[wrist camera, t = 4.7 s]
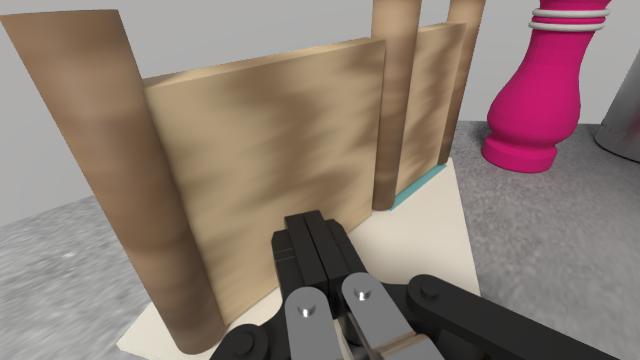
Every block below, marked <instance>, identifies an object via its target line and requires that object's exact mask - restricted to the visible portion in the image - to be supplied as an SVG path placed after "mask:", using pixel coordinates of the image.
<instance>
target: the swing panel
mask: <svg viewBox="0 0 640 360" xmlns="http://www.w3.org/2000/svg"><path fill="white" fill-rule="evenodd" d="M0 21H1V22H2V24H3V26H4V28H5V30H6V32H7V34H8V36H9V37H10V39H11V41H12V43H13V45H14V47H15V48H16V50H17V52H18V54H19V56H20V58H21V60H22V61H23V63H24V65H25V67H26V69H27V71H28V73H29V74H30V76H31V78H32V80H33V82H34V84H35V85H36V87H37V89H38V91H39V93H40V95H41V97H42V98H43V100H44V102H45V104H46V106H47V108H48V109H49V111H50V113H51V115H52V117H53V119H54V121H55V122H56V124H57V126H58V128H59V130H60V132H61V134H62V135H63V137H64V139H65V141H66V143H67V144H68V146H69V148H70V150H71V152H72V154H73V155H74V158H75V159H76V161H77V163H78V165H79V167H80V168H81V170H82V172H83V174H84V176H85V178H86V180H87V181H88V183H89V185H90V187H91V189H92V191H93V193H94V194H95V196H96V198H97V200H98V202H99V204H100V206H101V207H102V209H103V211H104V213H105V215H106V217H107V219H108V220H109V222H110V224H111V226H112V228H113V230H114V231H115V233H116V235H117V237H118V239H119V241H120V243H121V244H122V246H123V248H124V250H125V252H126V254H127V255H128V257H129V259H130V261H131V263H132V265H133V267H134V268H135V270H136V272H137V274H138V276H139V278H140V279H141V281H142V283H143V285H144V287H145V289H146V291H147V292H148V294H149V296H150V298H151V300H152V302H153V304H154V305H155V307H156V309H157V311H158V313H159V315H160V316H161V318H162V320H163V322H164V324H165V326H166V328H167V329H168V331H169V333H170V335H171V337H172V339H173V340H174V342H175V344H176V346H177V348H178V349H179V350H180V351H181V352H182V353H184V354H188V355H196V354H200V353H203V352H205V351H207V350H209V349H210V348H212V347H213V346H214V345H215V344H216V343H217V342H218V341H219V340H220V338H221V337H222V335H223V332H224V329H225V326H226V325H227V324H229V323H230V322H231V321H233V320H234V319H235V318H237V317H238V316H239V315H241V314H242V313H243V312H244V311H246V310H247V309H248V308H250V307H251V306H252V305H254V304H255V303H256V302H258V301H259V300H260V299H261V298H263V297H264V296H265V295H267V294H268V293H269V292H271V291H272V290H273V289H275V288H276V287H277V286H278V285H279V283H278V278H277V274H276V269H275V264H274V258H273V252H272V246H271V240H272V236H273V233H274V232H275V231H280V230H284V229H285V225H284V217H285V216H290V215H295V214H299V213H301V214H302V213H304V212H308V211H313V210H320V212H321V214H322V216H323V218H324V220H329V219H334V220H336V221H337V222H338V223H340V224H341V225H342V226H343V228H344V230H345V232H346V234H347V233H348V232H349V231H350V230H352V229H353V228H354V227H356V226H357V225H358V224H360V223H361V222H362V221H364V220H365V219H366V218H367V217H369V216H370V215H371V209H372V198H373V186H374V174H375V162H376V151H377V139H378V127H379V115H380V104H381V92H382V80H383V68H384V56H385V45H386V39H377V38H360V39H354V40H349V41H343V42H338V43H332V44H327V45H322V46H317V47H311V48H306V49H300V50H295V51H290V52H284V53H279V54H274V55H268V56H263V57H258V58H252V59H247V60H242V61H236V62H231V63H226V64H220V65H215V66H210V67H204V68H199V69H193V70H188V71H183V72H177V73H172V74H167V75H161V76H156V77H151V78H145V79H142V78H141V76H140V73H139V70H138V67H137V64H136V61H135V58H134V56H133V53H132V50H131V47H130V44H129V41H128V38H127V35H126V32H125V29H124V26H123V23H122V21H121V18H120V15H119V12H118V10H80V11H79V10H78V11H57V12H40V13H24V14H11V15H1V16H0Z"/></svg>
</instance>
